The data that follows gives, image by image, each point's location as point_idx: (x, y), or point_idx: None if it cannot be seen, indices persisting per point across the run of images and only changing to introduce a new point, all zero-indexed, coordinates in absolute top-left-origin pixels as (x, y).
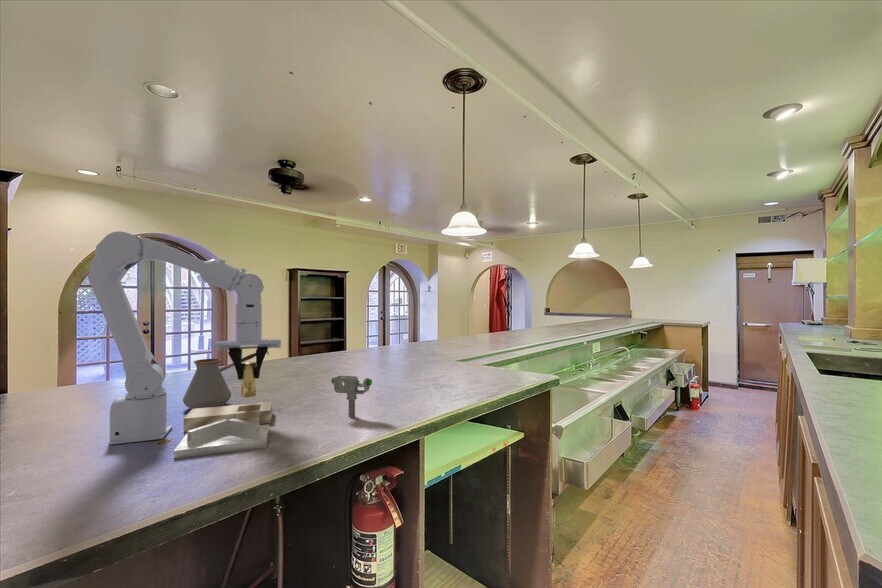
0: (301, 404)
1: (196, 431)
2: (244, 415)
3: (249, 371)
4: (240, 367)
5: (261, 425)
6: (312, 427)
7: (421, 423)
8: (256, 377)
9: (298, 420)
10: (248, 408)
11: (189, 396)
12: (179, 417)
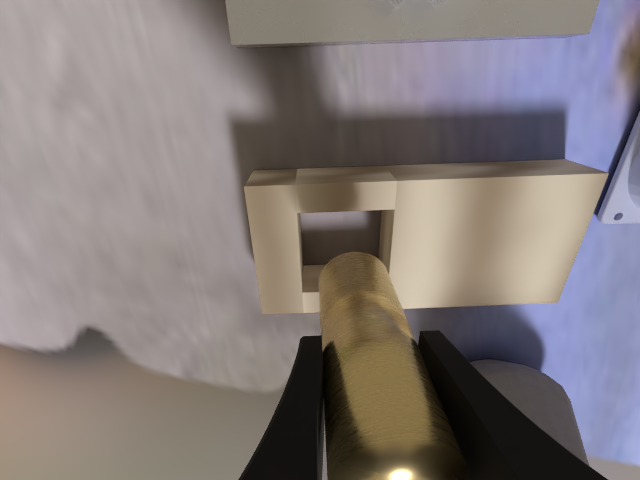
0: (182, 353)
1: None
2: (357, 178)
3: (373, 371)
4: (464, 420)
5: (266, 39)
6: (37, 34)
7: None
8: (315, 340)
9: (140, 168)
10: None
11: (565, 405)
12: (559, 321)
